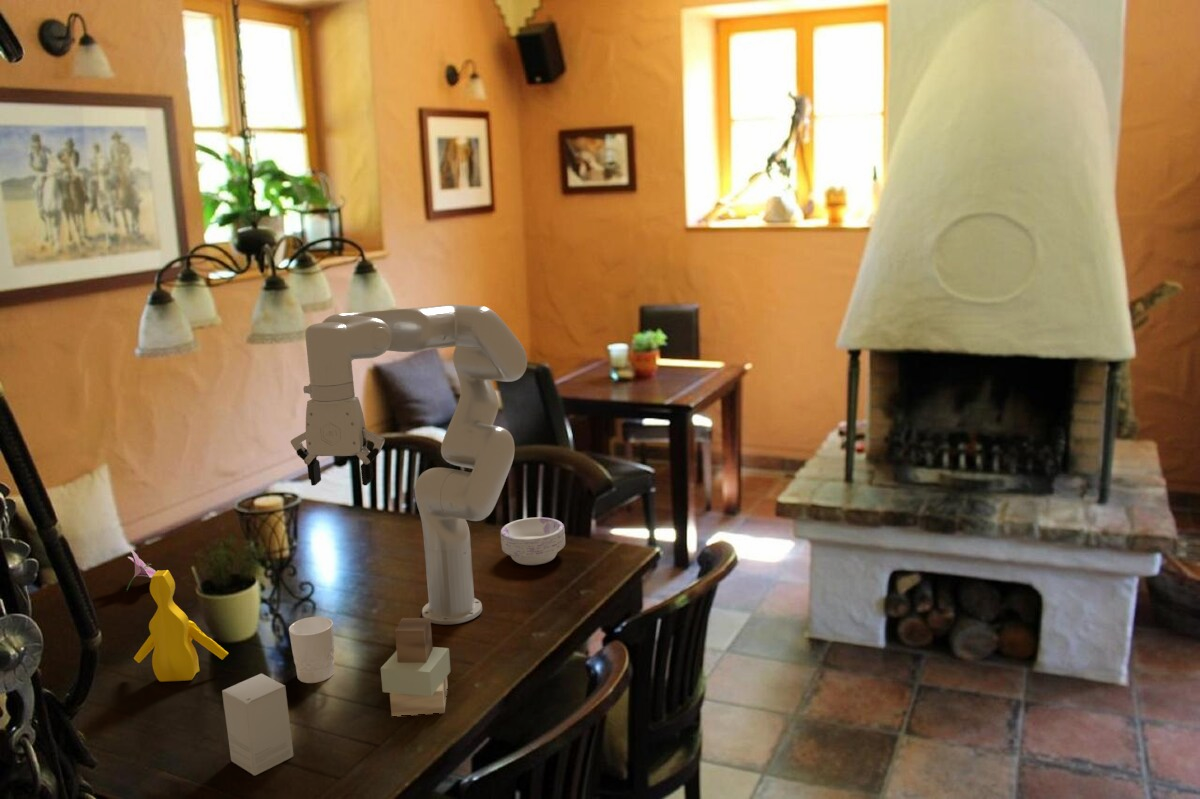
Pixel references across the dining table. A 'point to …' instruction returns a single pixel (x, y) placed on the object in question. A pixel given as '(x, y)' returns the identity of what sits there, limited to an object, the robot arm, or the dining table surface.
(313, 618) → the white cup
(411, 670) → the top block
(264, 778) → the dining table surface
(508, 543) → the paper bowls
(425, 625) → the walnut block
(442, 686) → the base block
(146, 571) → the lily
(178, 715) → the dining table surface
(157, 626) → the figure statuette
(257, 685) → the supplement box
